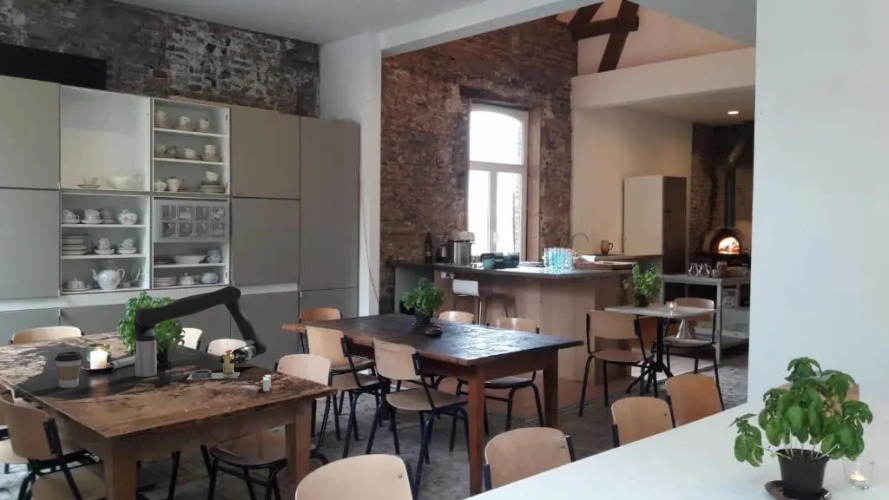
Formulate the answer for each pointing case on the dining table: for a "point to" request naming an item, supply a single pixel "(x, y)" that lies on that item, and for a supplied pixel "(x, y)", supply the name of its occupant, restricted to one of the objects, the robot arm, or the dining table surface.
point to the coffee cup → (68, 368)
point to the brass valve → (228, 363)
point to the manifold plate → (218, 376)
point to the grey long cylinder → (122, 362)
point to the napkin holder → (266, 382)
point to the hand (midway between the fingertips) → (226, 361)
